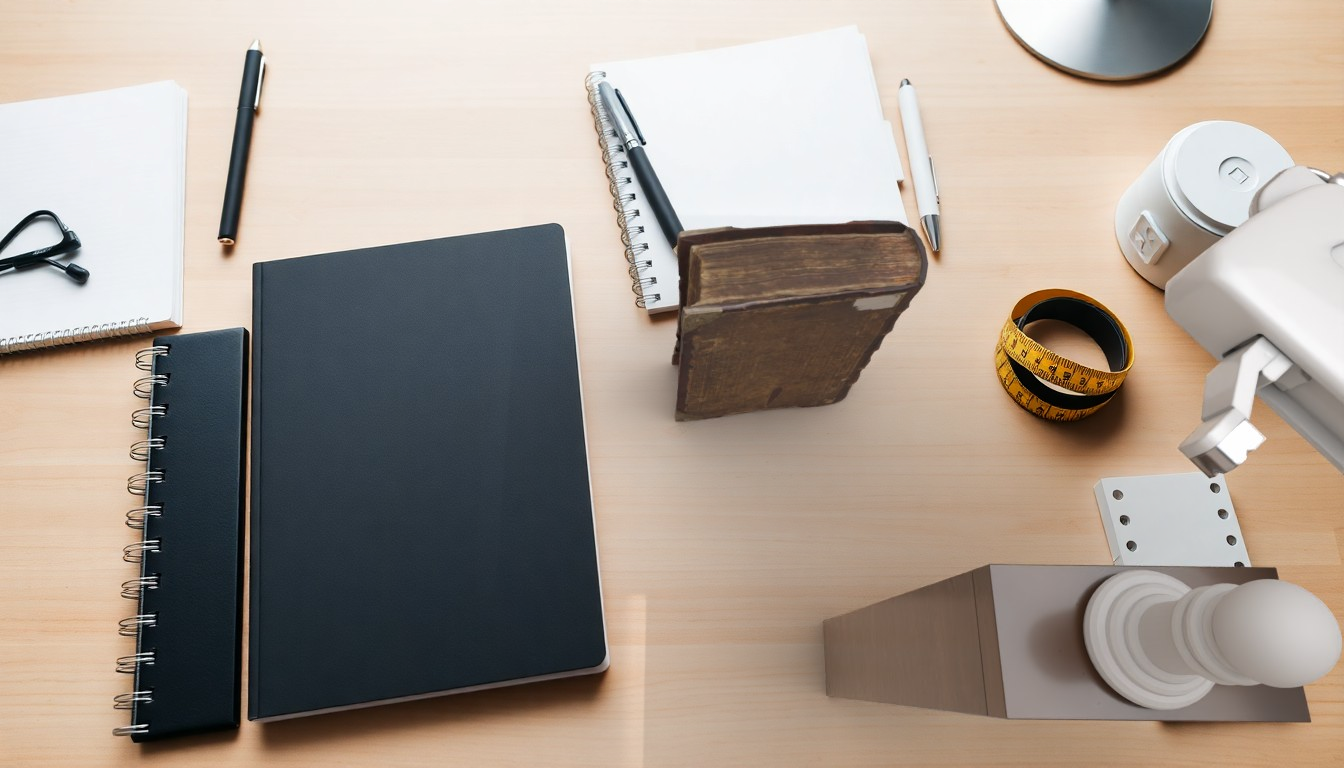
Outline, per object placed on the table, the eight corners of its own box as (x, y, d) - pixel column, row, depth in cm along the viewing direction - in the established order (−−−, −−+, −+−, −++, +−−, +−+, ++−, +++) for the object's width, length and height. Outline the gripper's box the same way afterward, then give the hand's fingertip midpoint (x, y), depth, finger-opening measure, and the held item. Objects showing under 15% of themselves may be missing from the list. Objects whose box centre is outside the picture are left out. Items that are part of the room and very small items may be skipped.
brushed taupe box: (964, 622, 70) (1276, 567, 34) (972, 698, 68) (1312, 722, 32) (823, 620, 70) (988, 563, 34) (826, 696, 68) (1006, 719, 32)
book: (848, 354, 78) (927, 216, 55) (853, 426, 76) (938, 315, 52) (671, 353, 78) (674, 215, 55) (671, 426, 76) (674, 313, 52)
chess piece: (1240, 657, 33) (1438, 651, 25) (1144, 738, 32) (1316, 760, 24) (1145, 546, 35) (1301, 504, 26) (1050, 619, 34) (1181, 601, 25)
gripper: (1368, 97, 31) (1126, 311, 28) (1920, 518, 26) (1697, 834, 23) (1254, 190, 37) (1045, 374, 34) (1685, 547, 32) (1484, 801, 29)
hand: (1312, 564), depth 28 cm, fingers open, 8 cm apart
